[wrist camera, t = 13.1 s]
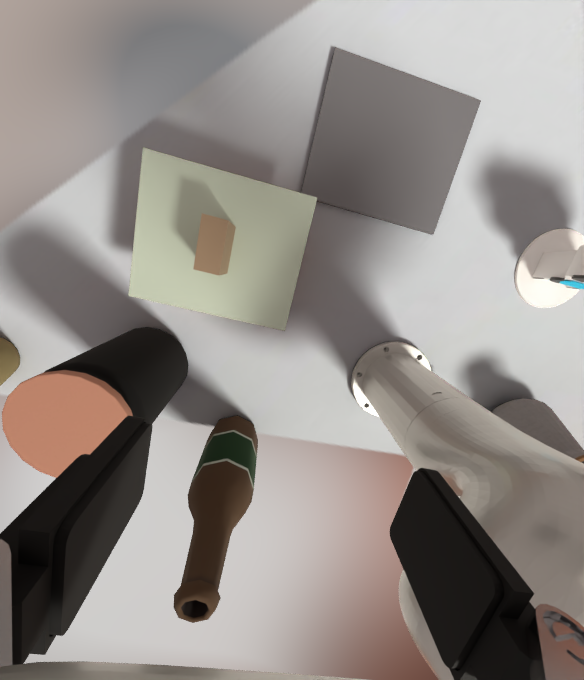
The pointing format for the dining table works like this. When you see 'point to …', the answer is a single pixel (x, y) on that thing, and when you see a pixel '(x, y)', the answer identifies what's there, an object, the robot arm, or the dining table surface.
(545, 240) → the panda figurine
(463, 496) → the robot arm
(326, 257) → the dining table surface
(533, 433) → the coffee pot
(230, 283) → the lid
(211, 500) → the beer bottle
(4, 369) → the squeeze bottle
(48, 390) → the coffee jar
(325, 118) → the mat
